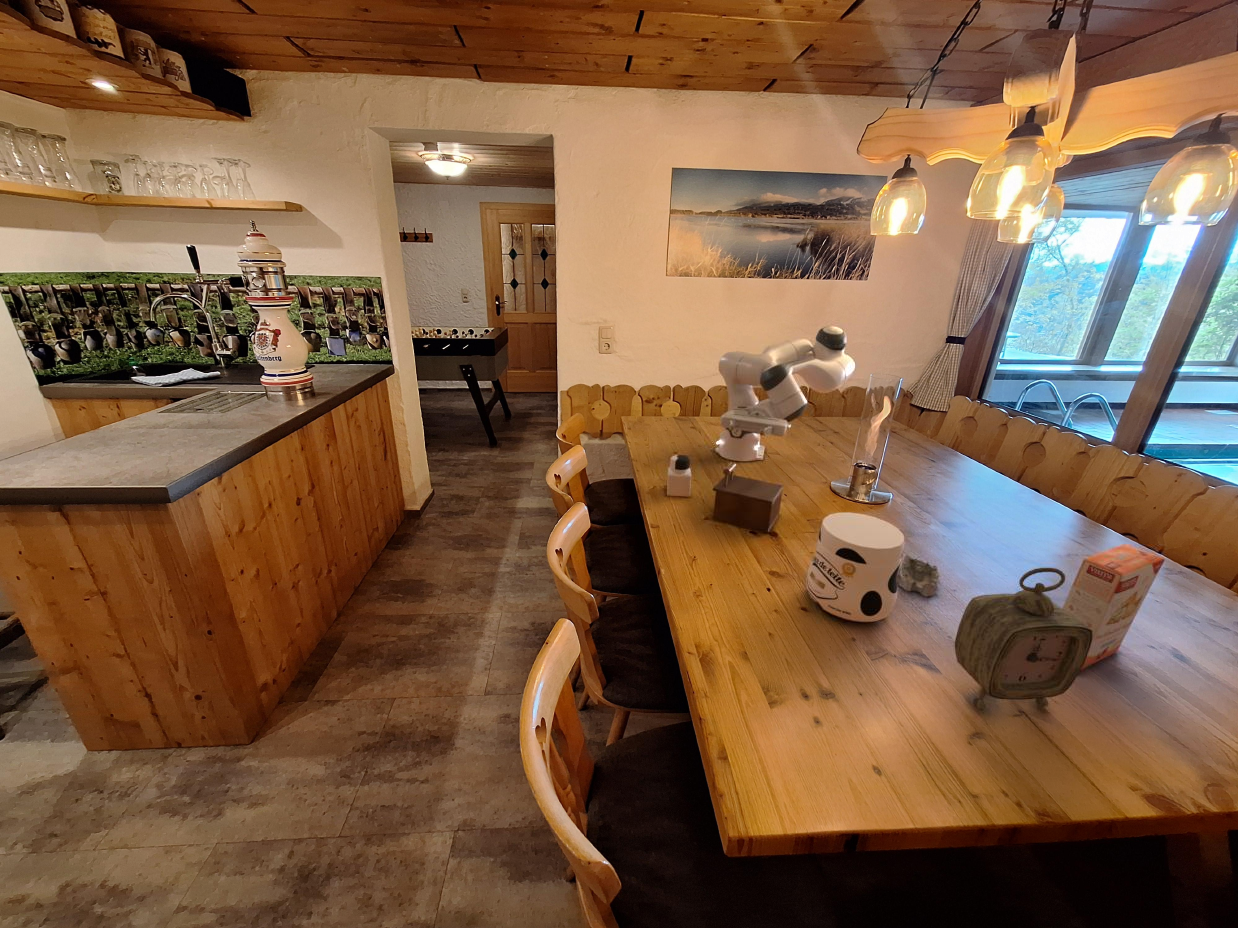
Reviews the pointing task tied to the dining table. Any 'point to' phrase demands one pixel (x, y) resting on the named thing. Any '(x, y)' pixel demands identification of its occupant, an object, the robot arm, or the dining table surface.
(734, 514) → the chest
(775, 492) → the chest lid
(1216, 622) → the dining table surface
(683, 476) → the medicine bottle
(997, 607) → the tabletop clock
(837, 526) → the milk container
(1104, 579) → the cracker box
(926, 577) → the egg carton
